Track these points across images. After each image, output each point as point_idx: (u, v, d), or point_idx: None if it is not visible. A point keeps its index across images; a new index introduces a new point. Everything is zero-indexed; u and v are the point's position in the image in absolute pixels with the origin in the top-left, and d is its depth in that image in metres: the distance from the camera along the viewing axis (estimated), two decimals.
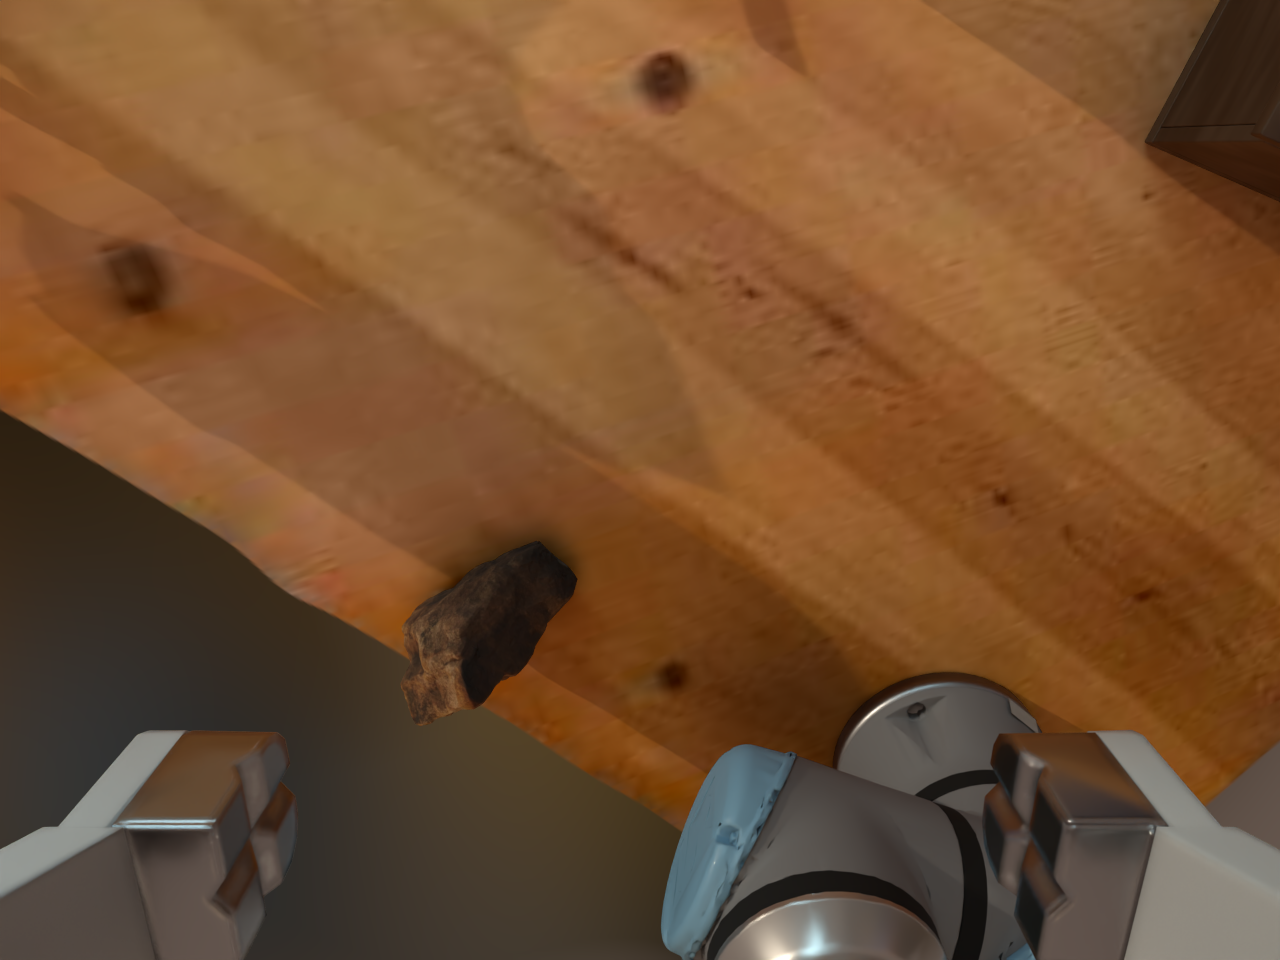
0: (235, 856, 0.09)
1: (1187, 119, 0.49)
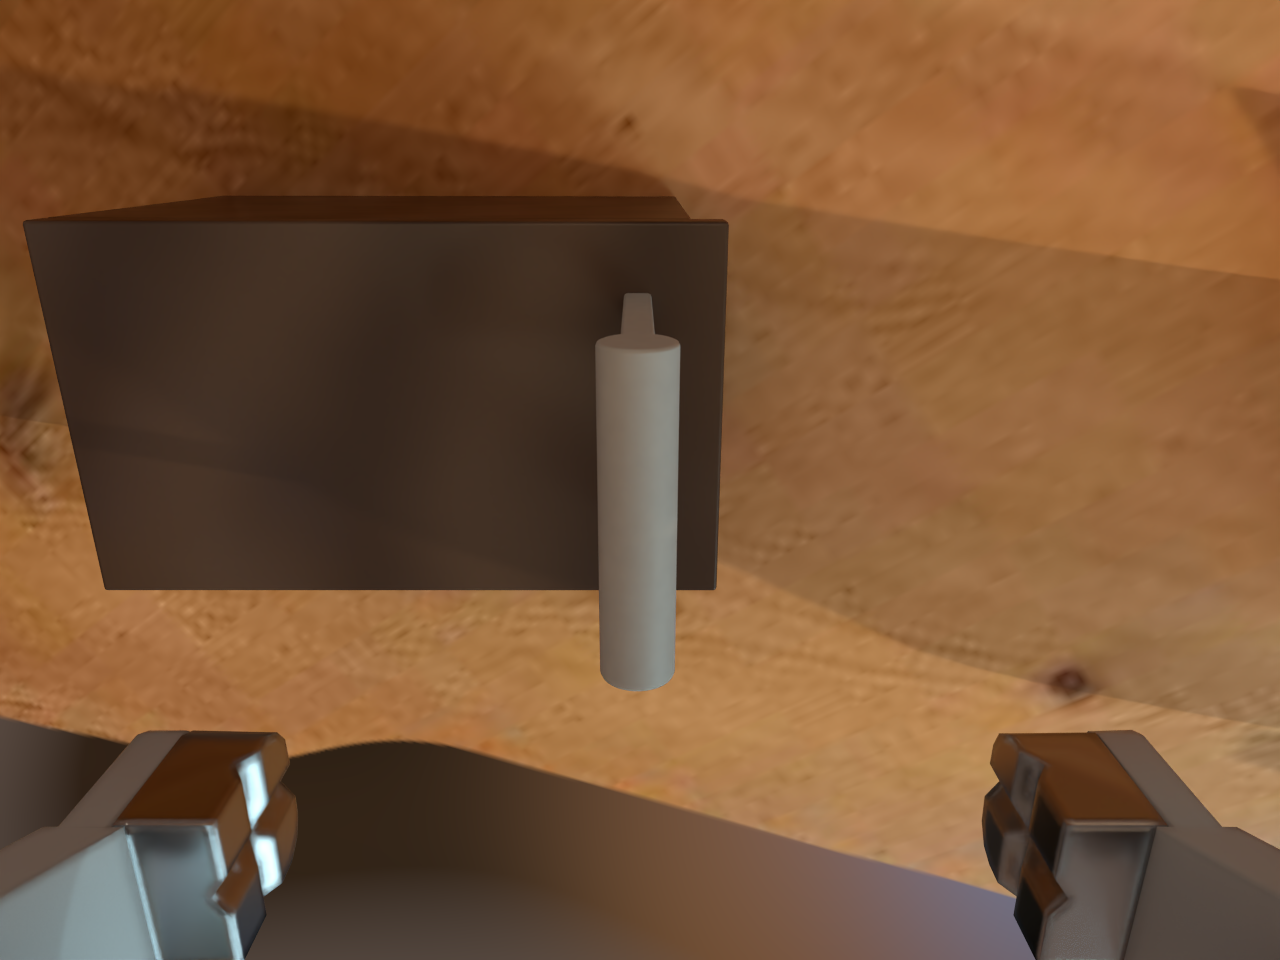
0: (235, 856, 0.09)
1: None
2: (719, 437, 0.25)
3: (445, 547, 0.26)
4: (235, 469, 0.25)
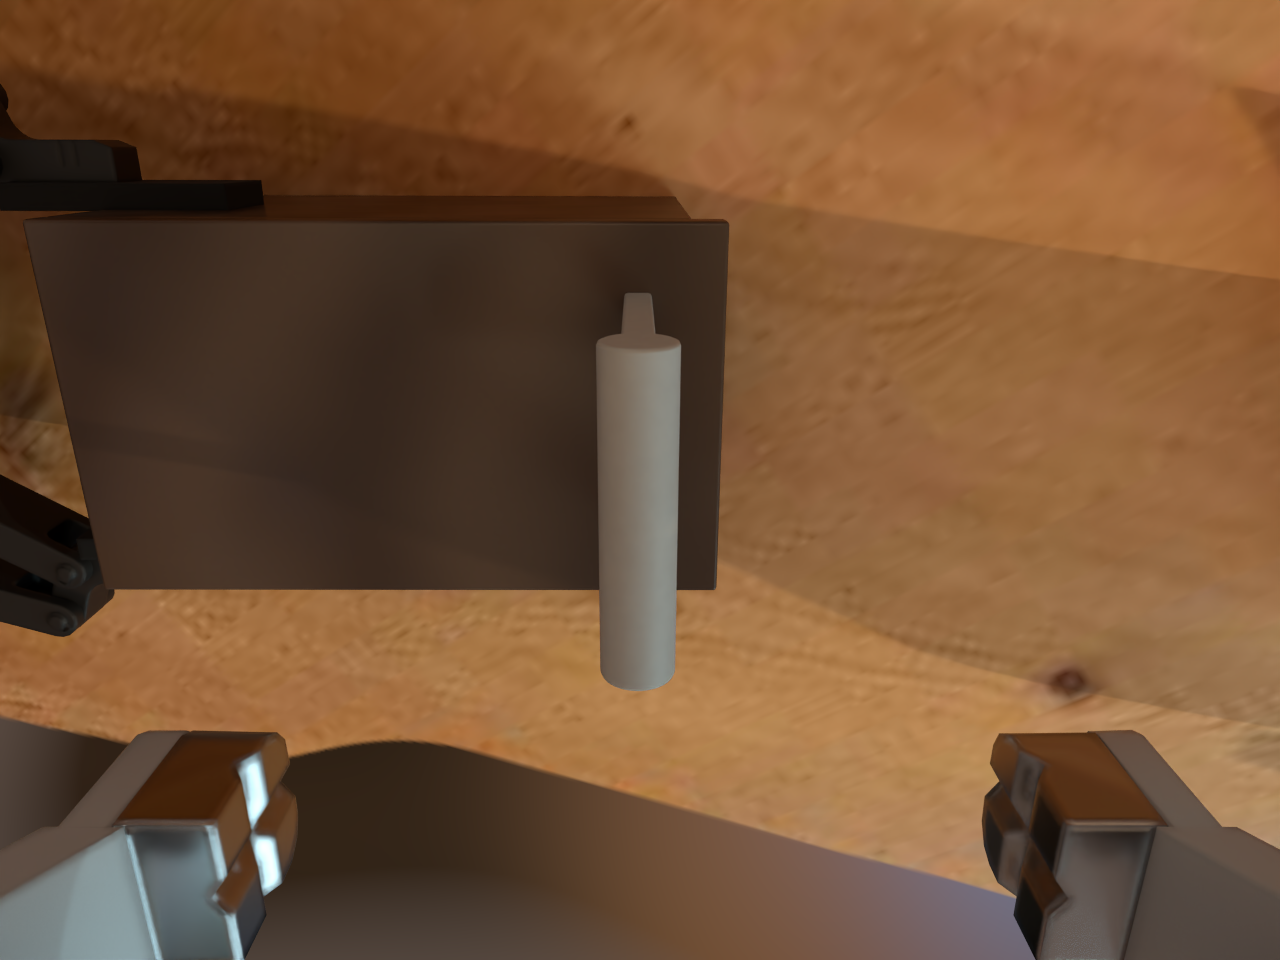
0: (235, 856, 0.09)
1: None
2: (719, 437, 0.25)
3: (445, 547, 0.26)
4: (235, 468, 0.25)
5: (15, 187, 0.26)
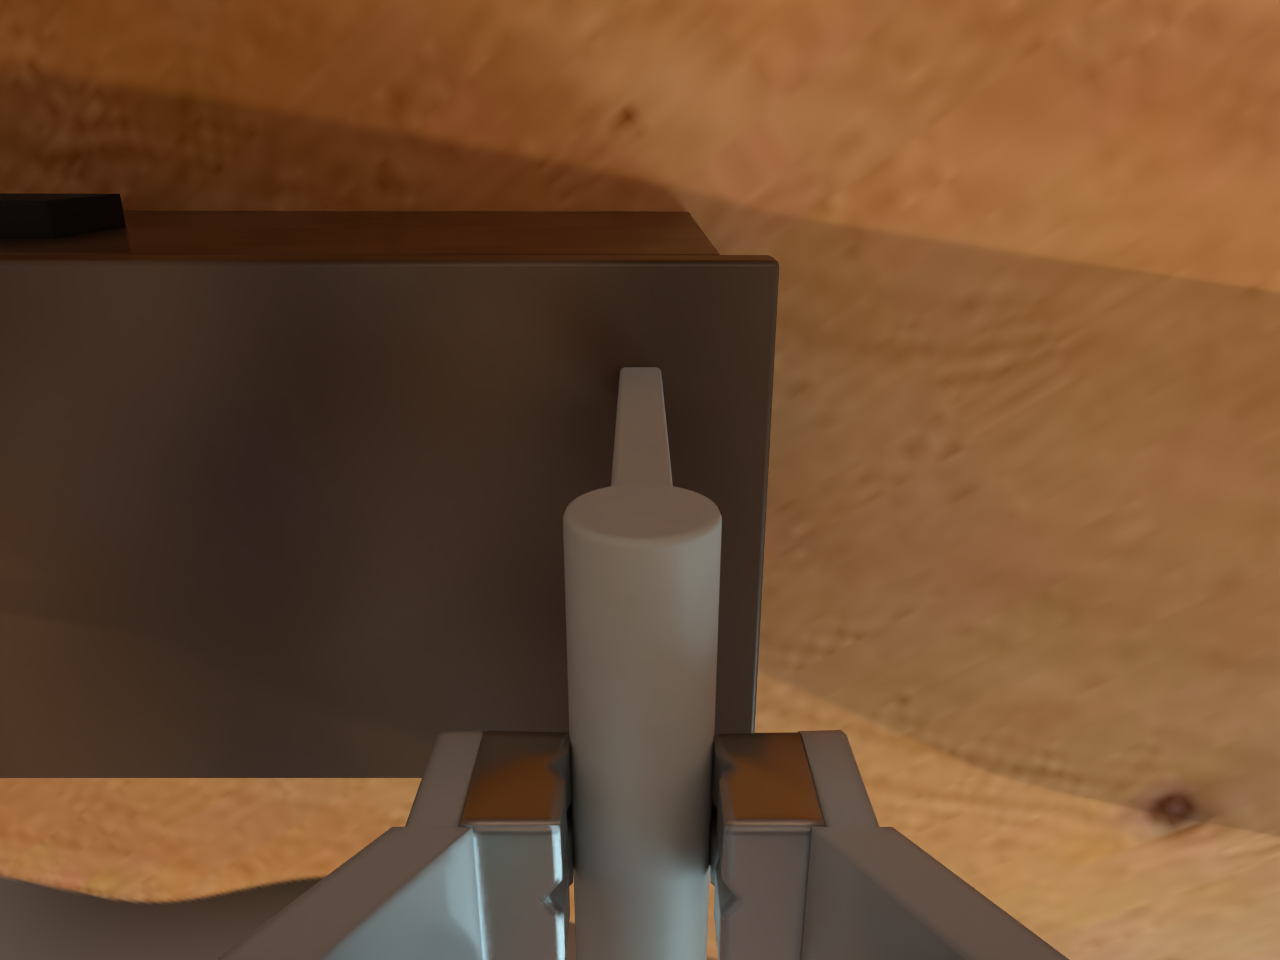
0: (563, 856, 0.09)
1: None
2: (760, 572, 0.17)
3: (364, 721, 0.18)
4: (54, 616, 0.17)
5: None
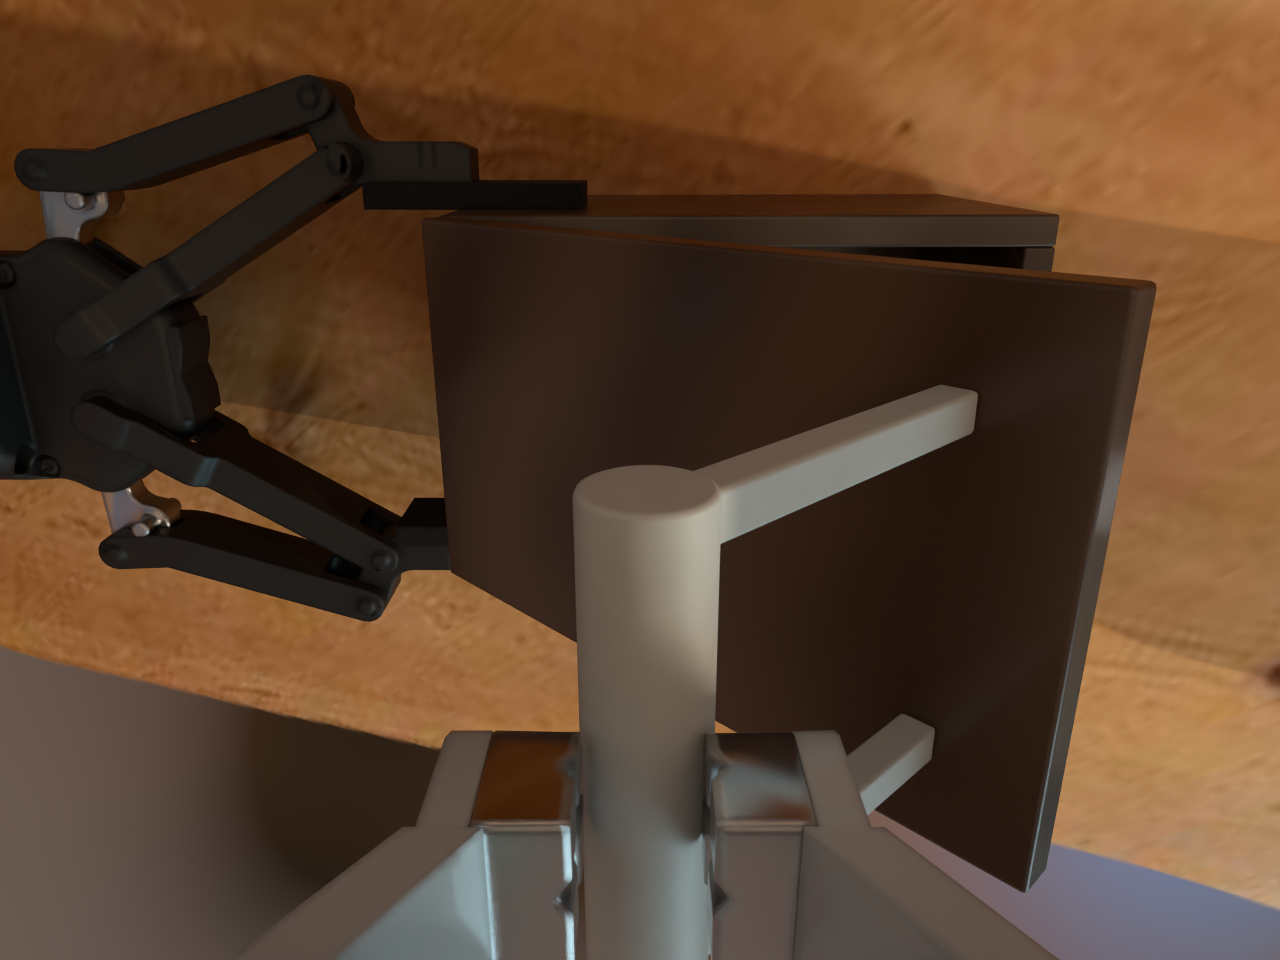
0: (573, 856, 0.09)
1: None
2: (1065, 658, 0.14)
3: None
4: (533, 494, 0.23)
5: (381, 187, 0.27)
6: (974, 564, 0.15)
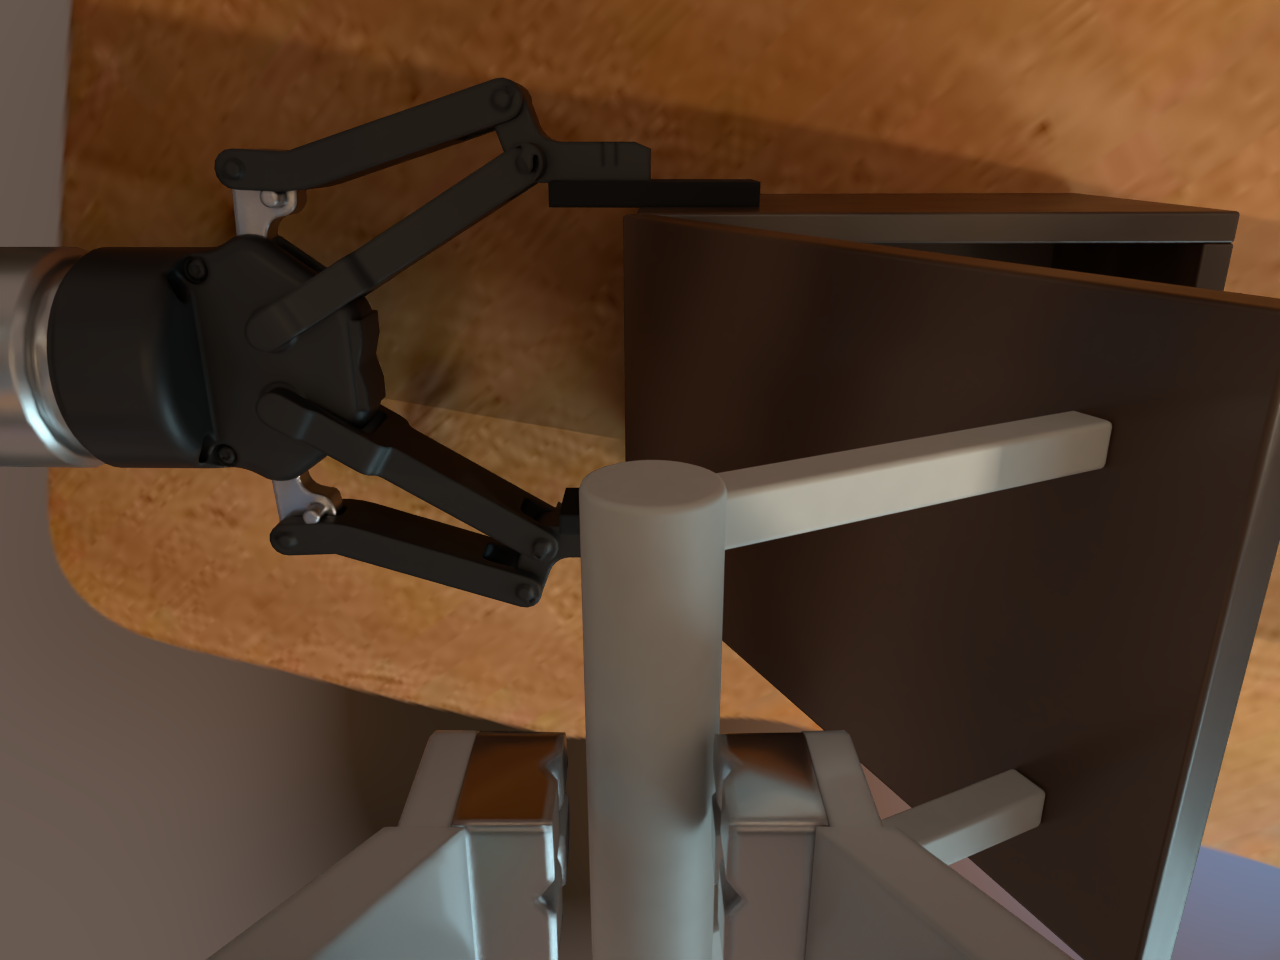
0: (555, 856, 0.09)
1: None
2: (1189, 739, 0.12)
3: (821, 672, 0.20)
4: None
5: (567, 186, 0.28)
6: (1098, 616, 0.13)
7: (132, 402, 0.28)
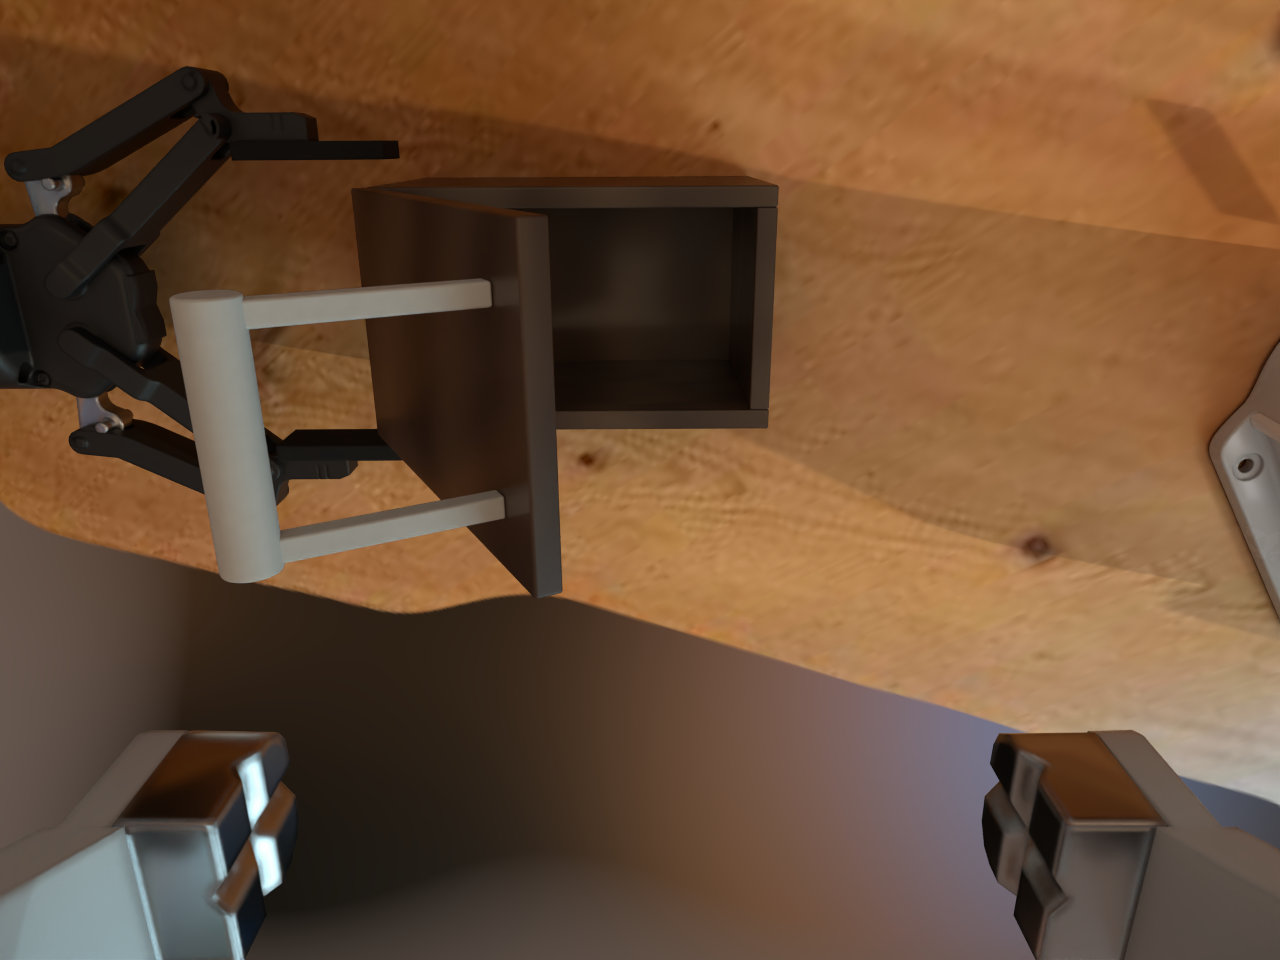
0: (235, 856, 0.09)
1: None
2: (526, 440, 0.24)
3: (445, 472, 0.31)
4: (395, 372, 0.35)
5: (243, 144, 0.39)
6: (501, 388, 0.25)
7: None
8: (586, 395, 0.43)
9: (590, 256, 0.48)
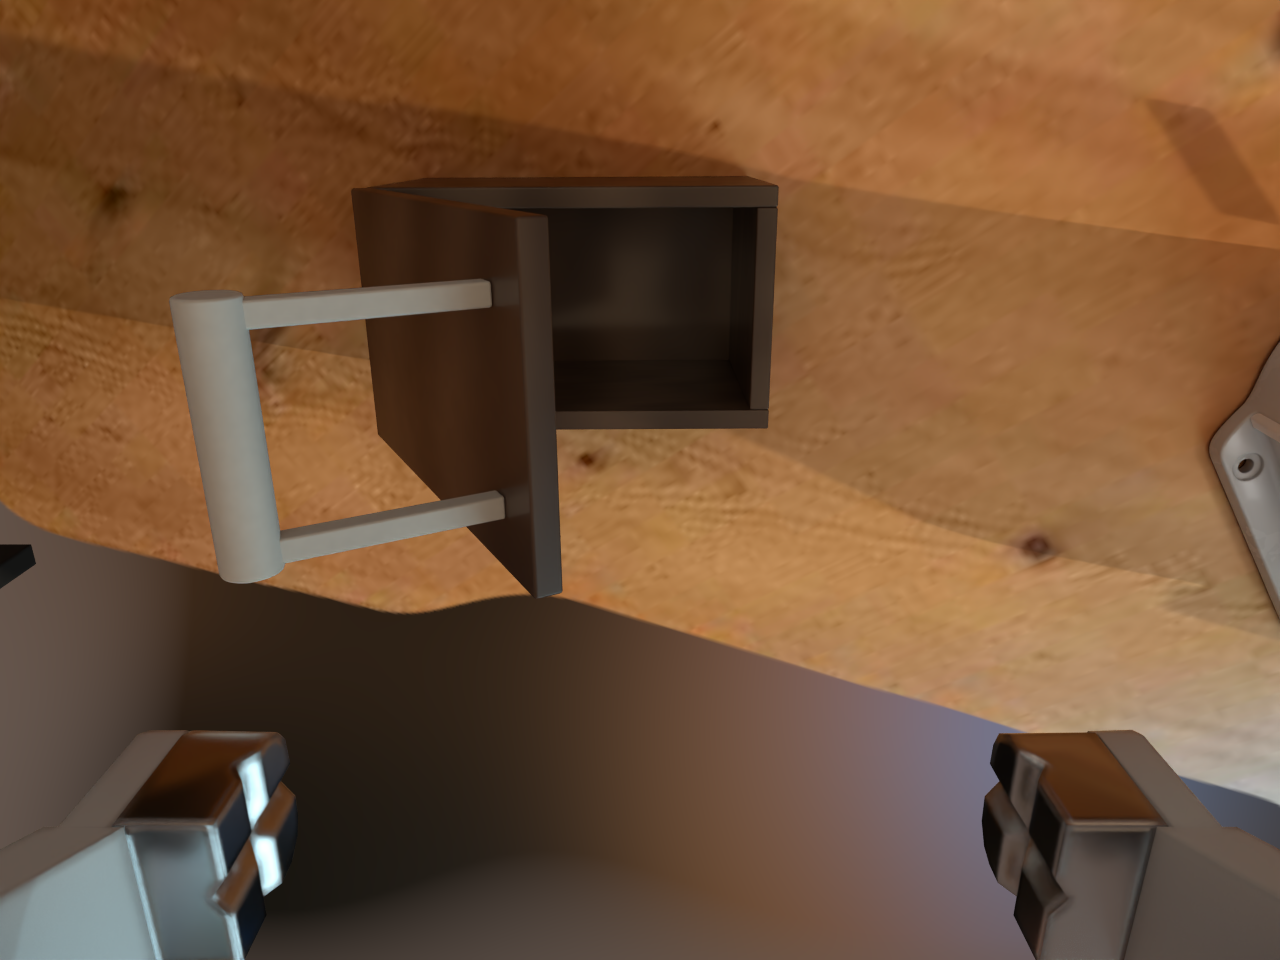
0: (235, 856, 0.09)
1: None
2: (526, 440, 0.24)
3: (445, 472, 0.31)
4: (395, 372, 0.35)
5: None
6: (502, 388, 0.25)
7: None
8: (586, 395, 0.43)
9: (590, 256, 0.48)
